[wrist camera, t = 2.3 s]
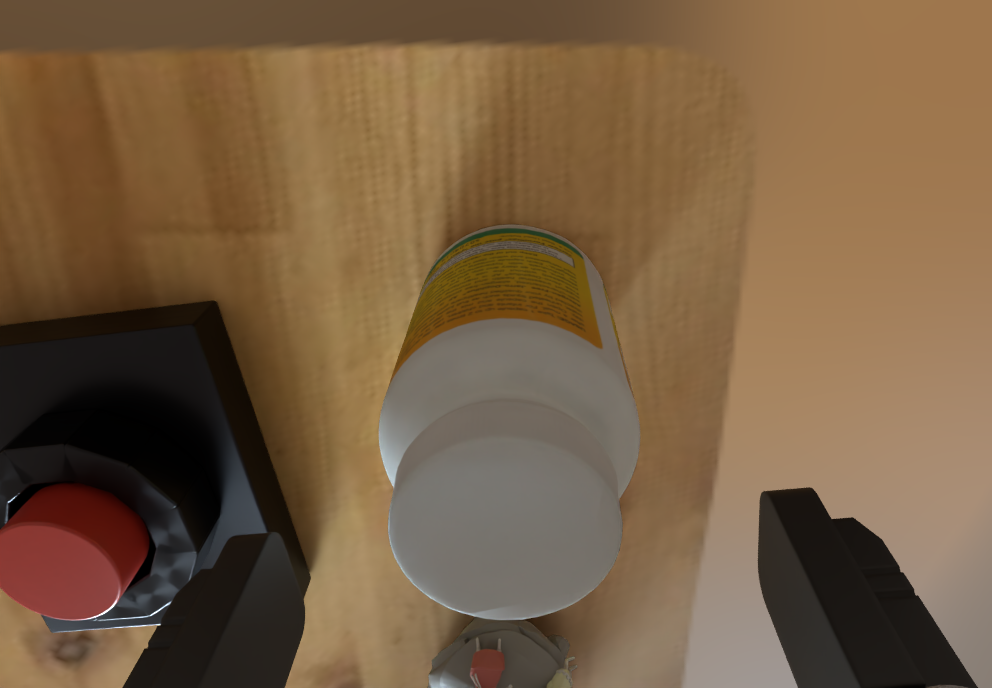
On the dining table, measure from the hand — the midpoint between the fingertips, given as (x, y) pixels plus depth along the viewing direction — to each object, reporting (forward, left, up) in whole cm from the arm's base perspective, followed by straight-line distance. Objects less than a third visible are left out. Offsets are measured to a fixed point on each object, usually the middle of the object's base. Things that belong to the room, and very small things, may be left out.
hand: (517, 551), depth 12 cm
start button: (+4, -13, -7) cm, 15 cm away
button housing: (+4, -13, -10) cm, 17 cm away
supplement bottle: (0, 0, -10) cm, 10 cm away
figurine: (+13, -2, -10) cm, 17 cm away
